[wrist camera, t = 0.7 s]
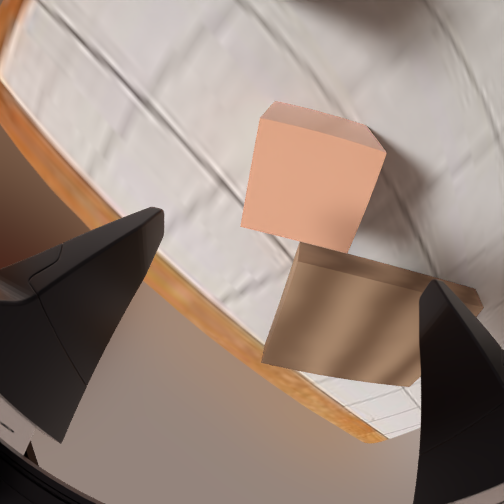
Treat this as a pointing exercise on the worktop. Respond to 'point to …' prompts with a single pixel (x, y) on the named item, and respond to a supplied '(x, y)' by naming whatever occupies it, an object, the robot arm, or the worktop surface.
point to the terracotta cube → (311, 176)
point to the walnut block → (352, 318)
